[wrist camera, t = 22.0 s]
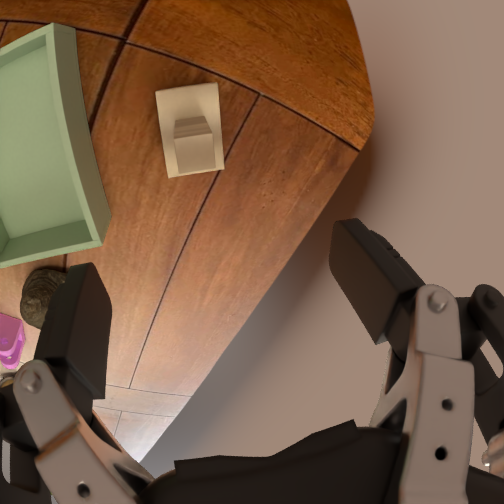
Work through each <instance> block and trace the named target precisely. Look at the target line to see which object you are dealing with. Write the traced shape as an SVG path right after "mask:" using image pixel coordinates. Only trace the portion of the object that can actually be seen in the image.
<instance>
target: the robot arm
mask: <svg viewBox="0 0 504 504" xmlns="http://www.w3.org/2000/svg"><path fill="white" fill-rule="evenodd" d="M329 266H330V270H331V272H332V274H333V276H334V278H335V279H336V281H337V282H338V284H339V286H340V287H341V289H342V290H343V292H344V294H345V295H346V297H347V298H348V300H349V301H350V303H351V305H352V306H353V308H354V309H355V311H356V313H357V314H358V316H359V318H360V319H361V321H362V323H363V324H364V326H365V328H366V329H367V331H368V333H369V334H370V336H371V338H372V340H373V341H374V343H375V345H377V344H380V343H383V342H385V341H389V343H390V345H391V347H390V348H389V351H388V356H387V362H386V369H385V374H384V379H383V384H382V389H381V394H380V398H379V402H378V404H377V406H376V409H375V410H374V413H373V415H372V418H371V421H370V424H369V427H357V426H356V424H355V422H354V419H353V420H350V421H347V422H344V423H342V424H339V425H336V426H333V427H330V428H327V429H325V430H321V431H318V432H315V433H312V434H311V435H309V436H307V437H306V438H304V439H302V440H300V441H299V442H297V443H295V444H293V445H291V446H290V447H288V448H286V449H284V450H282V451H280V452H278V453H276V454H275V455H272V456H269V457H242V456H222V455H217V456H211V457H204V458H196V459H187V460H176V461H174V464H175V469H174V470H171V471H169V472H167V473H165V474H163V475H161V476H159V477H158V478H156V479H155V478H153V476H152V475H151V474H150V473H149V472H147V470H145V468H143V467H142V466H141V465H140V464H139V463H138V462H137V461H135V460H134V459H133V458H132V457H131V456H130V455H129V454H128V453H127V452H126V451H125V450H124V448H123V447H122V446H121V445H120V444H119V442H118V441H117V440H116V439H115V437H114V436H113V435H112V434H111V432H110V431H109V430H108V429H107V427H106V426H105V425H104V423H103V422H102V421H101V419H100V418H99V417H98V415H97V414H96V412H95V411H94V410H93V409H92V405H93V400H95V399H105V387H106V370H107V357H108V345H109V336H110V327H111V319H112V305H111V300H110V297H109V295H108V293H107V291H106V289H105V287H104V284H103V282H102V280H101V278H100V276H99V274H98V271H97V269H96V267H95V265H94V264H93V263H92V262H90V263H85V264H79V265H74V266H71V267H70V268H69V271H68V273H67V276H66V279H65V282H64V283H62V284H60V285H59V286H58V288H57V289H56V290H55V292H54V293H53V295H52V296H51V299H50V302H49V305H48V311H46V315H45V318H44V319H45V321H43V325H42V328H41V331H40V335H39V339H38V343H37V346H36V350H35V354H34V359H33V360H31V361H28V362H26V363H25V364H24V365H22V366H21V367H20V369H19V370H18V371H17V373H16V375H15V378H14V381H13V383H12V384H9V385H7V386H4V387H1V388H0V504H52V502H51V493H52V495H53V496H54V498H55V500H56V501H57V503H58V504H504V297H503V295H502V294H501V293H500V292H499V291H498V290H497V289H495V288H494V287H492V286H490V285H486V284H481V285H478V286H477V287H476V288H475V290H474V292H473V294H472V296H471V297H459V298H458V297H456V298H455V297H454V296H453V295H452V294H451V293H450V292H449V291H448V290H447V289H445V288H443V287H441V286H438V285H434V284H427V285H426V284H425V283H424V282H423V280H422V279H421V278H420V277H419V276H418V275H417V273H416V272H415V271H414V270H413V269H412V268H411V266H410V265H409V264H408V263H407V262H406V261H405V260H404V259H403V257H400V254H399V253H398V252H397V251H396V250H395V249H393V246H392V245H391V244H390V243H389V242H388V241H387V240H386V239H385V238H384V237H382V236H381V235H379V234H377V233H375V232H374V231H372V230H368V228H367V227H366V226H365V225H364V224H362V222H361V221H360V220H359V219H357V218H353V219H347V220H340V221H336V222H335V224H334V226H333V233H332V240H331V247H330V254H329ZM487 339H488V341H489V342H490V344H491V345H492V347H493V349H494V350H495V351H496V353H497V355H498V357H499V358H500V360H501V362H502V364H503V374H502V376H501V377H500V378H498V377H497V376H496V374H495V372H494V371H493V369H492V367H491V366H490V364H489V362H488V361H487V359H486V357H485V356H484V354H483V352H482V351H481V349H480V347H481V346H482V345H483V343H484V342H485V341H486V340H487ZM474 417H475V419H476V421H477V423H478V425H479V428H480V430H481V432H482V434H483V436H484V439H485V441H486V443H487V446H488V449H487V450H486V451H485V452H484V453H483V455H482V463H483V464H484V465H486V466H488V465H489V473H488V472H486V471H483V470H480V469H478V468H475V467H472V466H470V465H469V461H470V454H471V445H472V434H473V422H474ZM2 440H4V441H6V442H8V443H10V484H9V483H8V482H7V481H6V480H5V478H4V476H3V473H2ZM50 492H51V493H50Z"/></svg>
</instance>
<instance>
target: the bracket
mask: <svg viewBox="0 0 504 504" xmlns="http://www.w3.org/2000/svg"><path fill="white" fill-rule="evenodd" d="M24 342H25V336H24V331H23V325H22V320H19V319H16V318H13V317H10V316H7V315H4V314H1V313H0V360H1V363H2V365H3V366H4V367H5V368H7V369H14V368H16V367H17V366H18V364H19V361H20V357H21V353H22V349H23V345H24ZM9 356H11V357H12V358H11V359H7V357H9Z"/></svg>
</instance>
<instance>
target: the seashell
mask: <svg viewBox="0 0 504 504" xmlns="http://www.w3.org/2000/svg"><path fill="white" fill-rule="evenodd" d="M66 276H67V274H66V273H61V272H58V271H55V270H47V269H43V270H35V271H33V272H32V273H31V274H30V275H29V277H28V278H27V280H26V282H25V284H24V286H23V289H22V299H21V302H20V313H21V316H22V318H23V319H24V320H25V321H26V323H28V324H29V325H31V326H34V327H36V328H38V329H40V330H41V328H42V325H43V321H45V319H44V318H45V315H46V311H48V305H49V302H50V299H51V296H52V295H53V293H54V292H55V290H56V289H57V288H58V286H59V285H60V284H62V283H64V282H65V279H66Z"/></svg>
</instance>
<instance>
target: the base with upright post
mask: <svg viewBox="0 0 504 504" xmlns="http://www.w3.org/2000/svg"><path fill="white" fill-rule="evenodd" d="M155 93H156V101H157V109H158V116H159V123H160V130H161V137H162V143H163V150H164V156H165V162H166V168H167V173H168V178H172V177H178V176H184V175H190V174H196V173H202V172H209V171H215V170H222V169H225V168H224V156H223V145H222V132H221V120H220V107H219V93H218V83H217V82H213V83H204V84H196V85H188V86H181V87H175V88H169V89H163V90H158V91H156V92H155Z"/></svg>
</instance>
